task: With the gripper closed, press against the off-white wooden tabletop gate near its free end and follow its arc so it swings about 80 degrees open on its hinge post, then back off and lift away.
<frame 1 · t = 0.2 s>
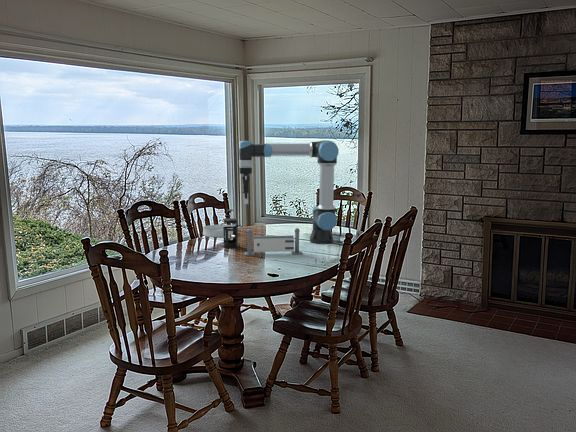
hand: (245, 202, 321), 28 cm above the table, tool pointing down, fingers open, 13 cm apart
french press: (231, 246, 329), on the table
dish: (219, 234, 367), on the table
gate: (274, 243, 308), point 6 cm above the table, hinge at 0.0°
gate posts: (296, 253, 311), on the table
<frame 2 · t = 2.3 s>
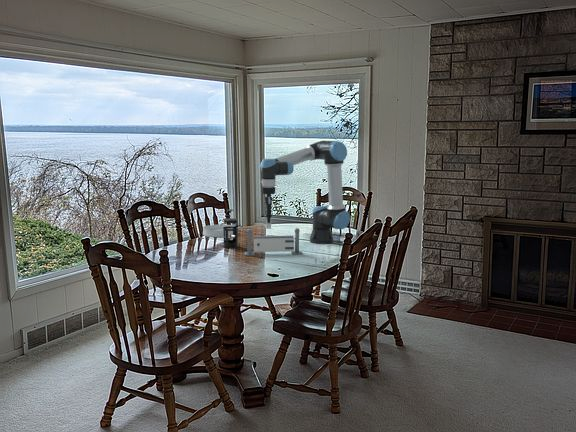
hand: (268, 228, 300), 16 cm above the table, tool pointing down, fingers closed
nothing on the table moved.
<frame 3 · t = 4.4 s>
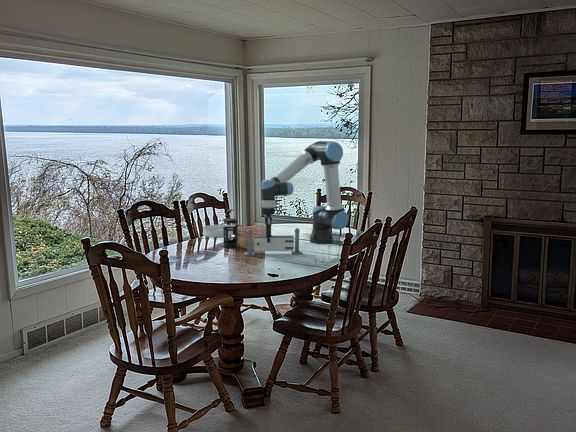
hand: (268, 247, 305), 4 cm above the table, tool pointing down, fingers closed
gate: (273, 243, 309), point 6 cm above the table, hinge at 3.5°, touching gripper
everything else where it was.
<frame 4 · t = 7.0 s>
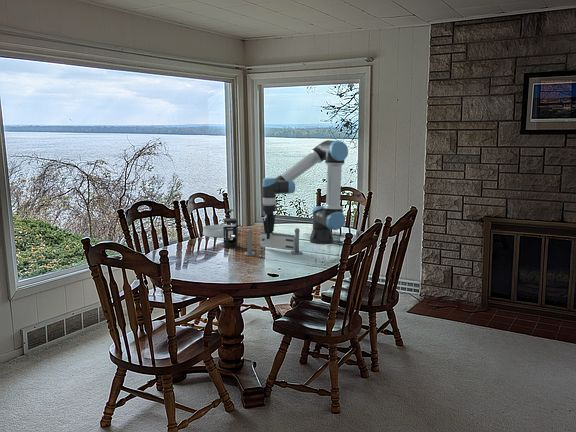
hand: (269, 244, 315), 4 cm above the table, tool pointing down, fingers closed
gate: (276, 241, 316), point 6 cm above the table, hinge at 36.5°, touching gripper
everything else where it was.
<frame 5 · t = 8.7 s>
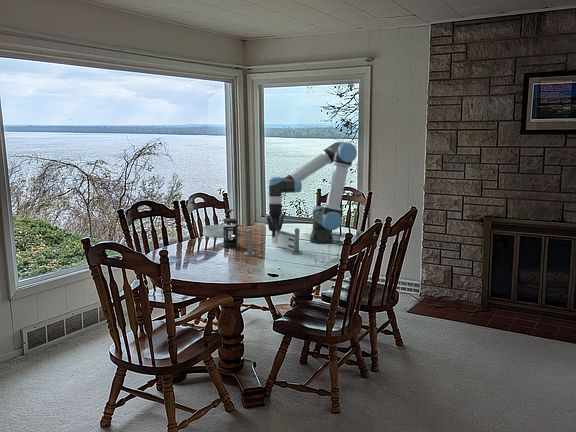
hand: (275, 241, 321), 4 cm above the table, tool pointing down, fingers closed
gate: (283, 239, 321), point 6 cm above the table, hinge at 60.9°, touching gripper
everything else where it was.
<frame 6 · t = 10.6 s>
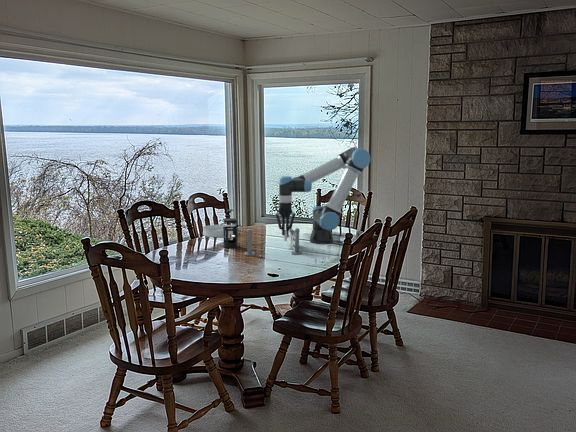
hand: (285, 240, 326), 4 cm above the table, tool pointing down, fingers closed
gate: (292, 238, 323), point 6 cm above the table, hinge at 86.3°, touching gripper
everything else where it was.
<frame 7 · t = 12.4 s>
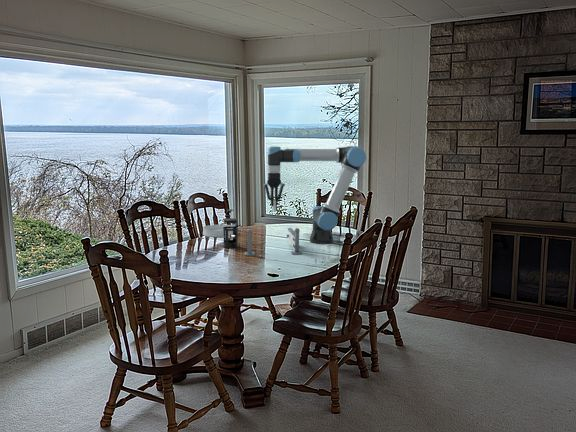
hand: (274, 211, 324), 22 cm above the table, tool pointing down, fingers closed
gate: (292, 238, 323), point 6 cm above the table, hinge at 86.3°
everything else where it was.
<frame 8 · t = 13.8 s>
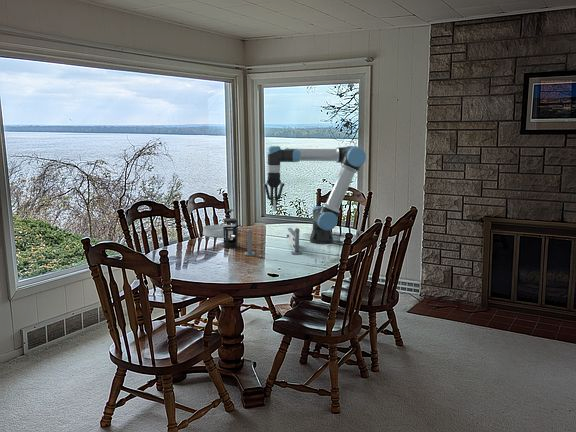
hand: (273, 210, 324), 22 cm above the table, tool pointing down, fingers closed
nothing on the table moved.
at the end: gate at +86° (first picture: +0°) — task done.
